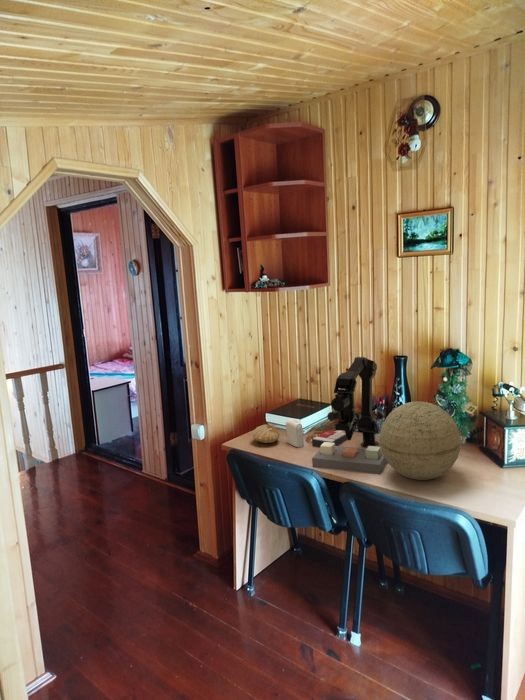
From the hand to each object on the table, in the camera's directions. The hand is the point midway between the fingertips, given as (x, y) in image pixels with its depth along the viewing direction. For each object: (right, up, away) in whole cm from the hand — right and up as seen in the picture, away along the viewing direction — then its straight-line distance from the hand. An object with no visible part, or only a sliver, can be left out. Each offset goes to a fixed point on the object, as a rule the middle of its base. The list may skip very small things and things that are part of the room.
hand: (349, 439), depth 219 cm
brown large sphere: (+25, -12, -17) cm, 32 cm away
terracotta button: (+1, -10, +2) cm, 10 cm away
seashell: (-33, -7, +39) cm, 52 cm away
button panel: (+1, -10, +2) cm, 10 cm away
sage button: (+10, -8, -3) cm, 13 cm away
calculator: (-5, -7, +28) cm, 29 cm away
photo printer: (-21, -8, +29) cm, 37 cm away
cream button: (-8, -8, +6) cm, 13 cm away
